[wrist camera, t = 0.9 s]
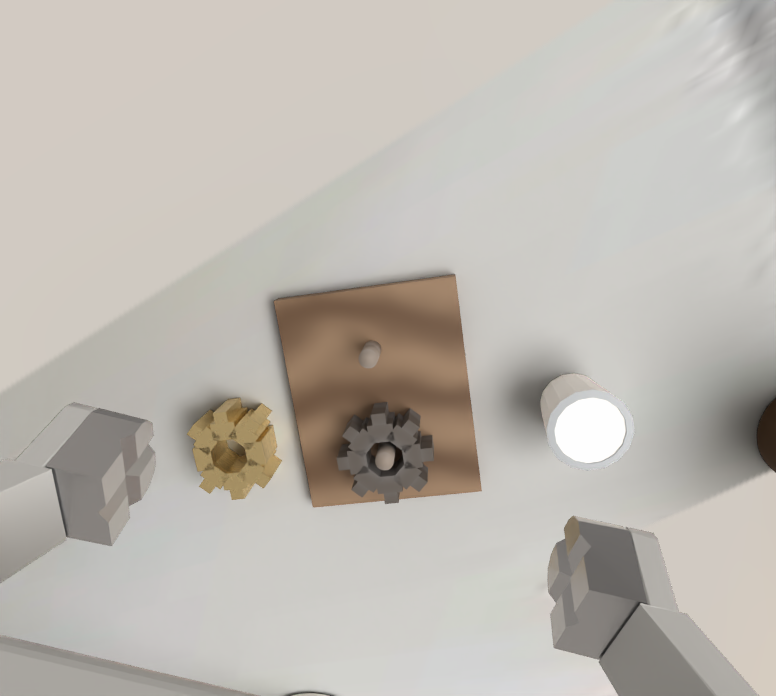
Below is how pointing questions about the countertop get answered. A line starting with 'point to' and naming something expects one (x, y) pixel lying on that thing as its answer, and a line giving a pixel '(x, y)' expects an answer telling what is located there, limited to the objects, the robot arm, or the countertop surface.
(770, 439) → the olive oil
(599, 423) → the white short cylinder
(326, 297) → the gear board
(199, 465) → the brass gear
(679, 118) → the countertop surface
